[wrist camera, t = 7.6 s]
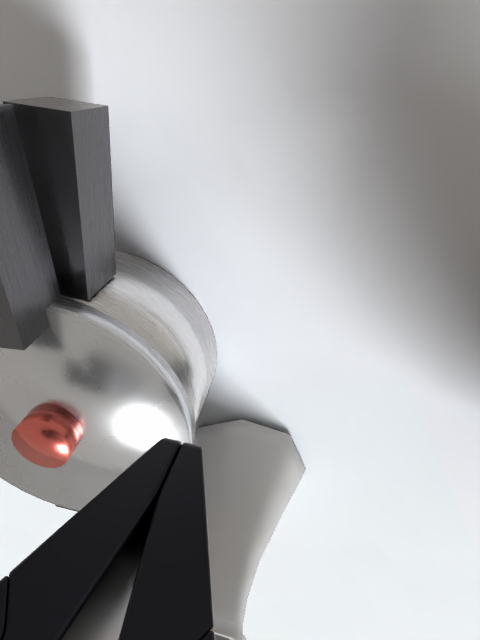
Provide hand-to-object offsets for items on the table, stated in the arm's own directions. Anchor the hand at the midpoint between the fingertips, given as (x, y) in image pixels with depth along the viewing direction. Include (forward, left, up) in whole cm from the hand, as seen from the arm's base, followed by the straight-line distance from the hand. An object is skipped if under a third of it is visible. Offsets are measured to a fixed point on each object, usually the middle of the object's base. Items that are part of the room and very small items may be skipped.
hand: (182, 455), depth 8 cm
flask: (-1, +14, -12) cm, 19 cm away
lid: (+7, +4, -7) cm, 11 cm away
